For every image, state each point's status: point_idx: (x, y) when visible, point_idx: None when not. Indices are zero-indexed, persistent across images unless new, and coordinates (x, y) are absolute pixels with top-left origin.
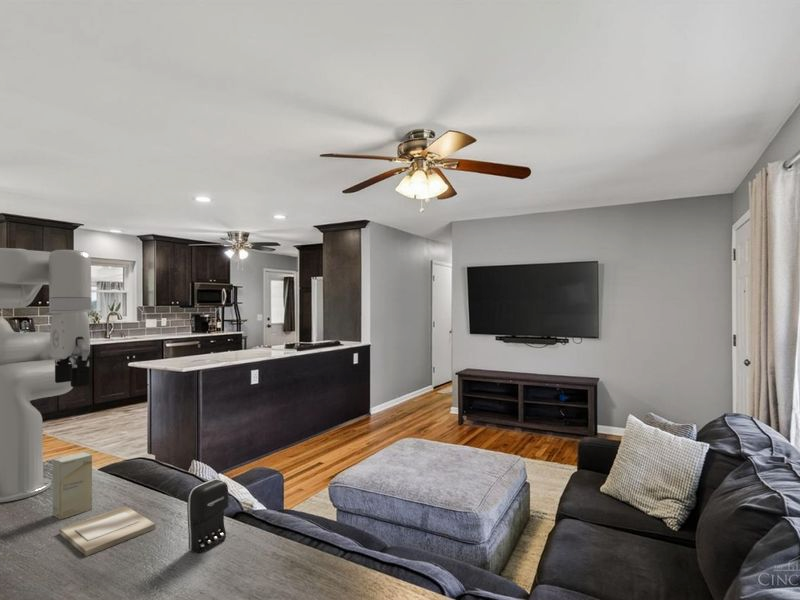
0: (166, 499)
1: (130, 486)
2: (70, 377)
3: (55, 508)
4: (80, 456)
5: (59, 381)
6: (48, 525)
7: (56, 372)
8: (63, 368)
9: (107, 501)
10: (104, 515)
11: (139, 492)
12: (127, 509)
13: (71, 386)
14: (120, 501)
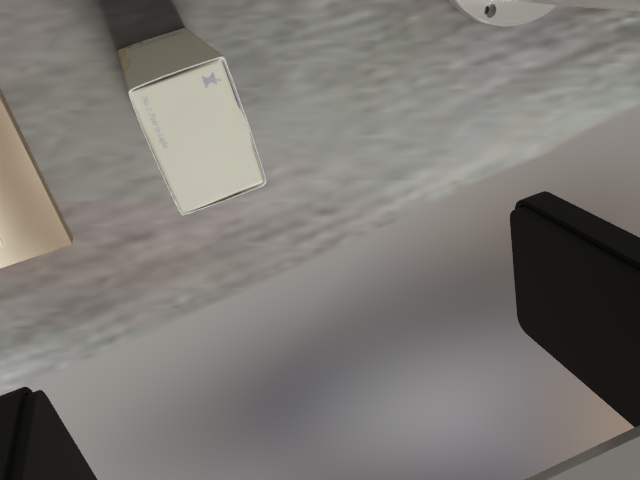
0: (95, 344)
1: (296, 251)
2: (539, 332)
3: (159, 39)
4: (186, 170)
5: (514, 231)
6: (91, 13)
7: (604, 251)
8: (628, 342)
9: None
10: (18, 184)
11: (218, 275)
12: (31, 249)
13: (24, 387)
14: (173, 224)
